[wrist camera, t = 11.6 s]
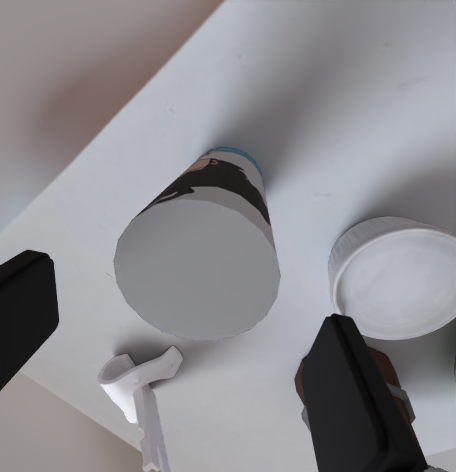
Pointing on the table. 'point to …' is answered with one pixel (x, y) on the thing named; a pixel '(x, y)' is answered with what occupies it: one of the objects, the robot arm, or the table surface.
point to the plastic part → (141, 399)
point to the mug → (390, 380)
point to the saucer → (455, 369)
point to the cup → (202, 252)
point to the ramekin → (394, 277)
